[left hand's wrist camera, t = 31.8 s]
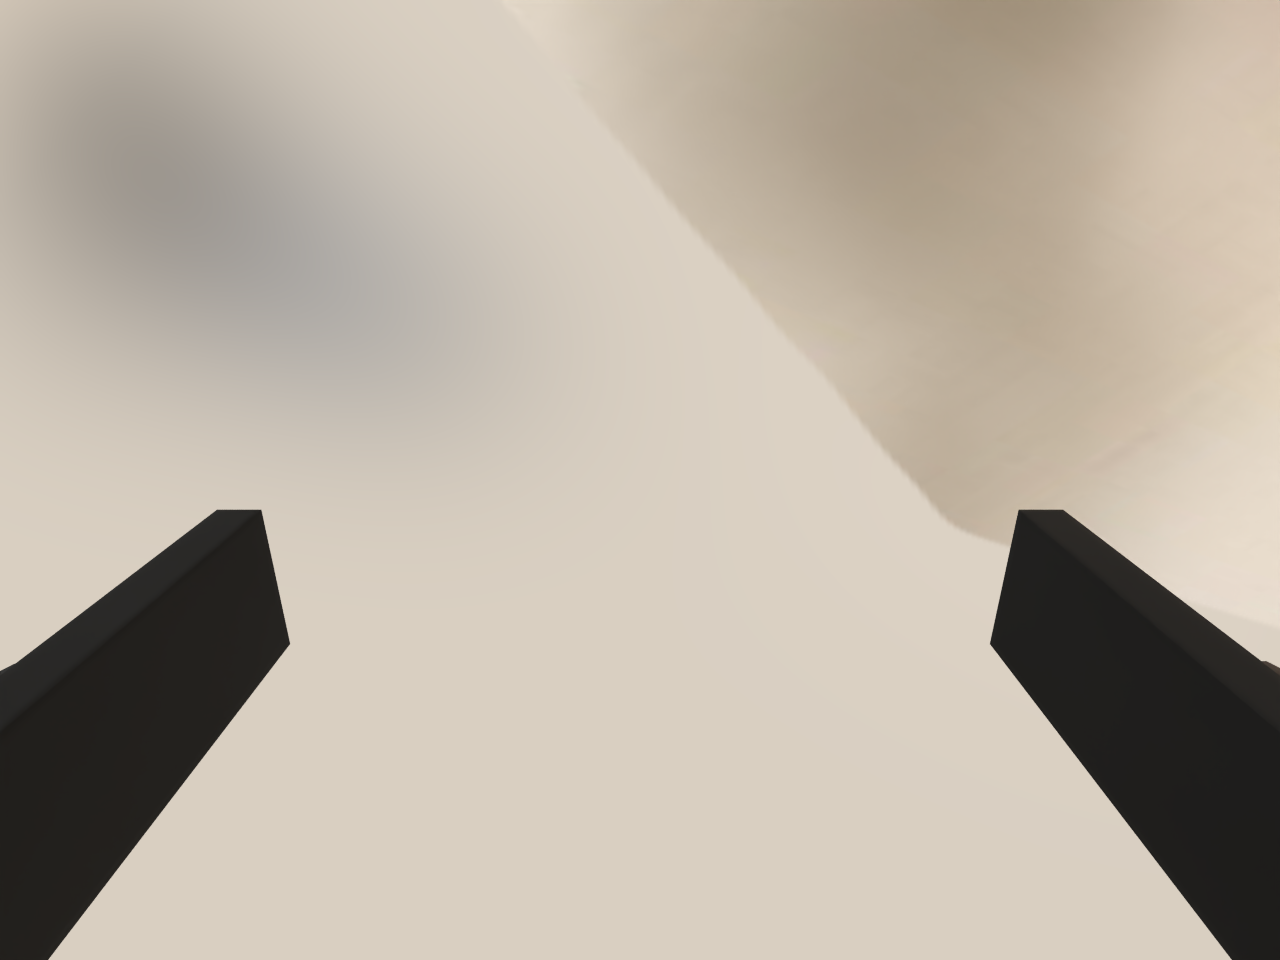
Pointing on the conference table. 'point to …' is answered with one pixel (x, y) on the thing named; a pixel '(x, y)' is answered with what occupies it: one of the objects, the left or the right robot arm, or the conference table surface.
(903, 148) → the conference table surface
